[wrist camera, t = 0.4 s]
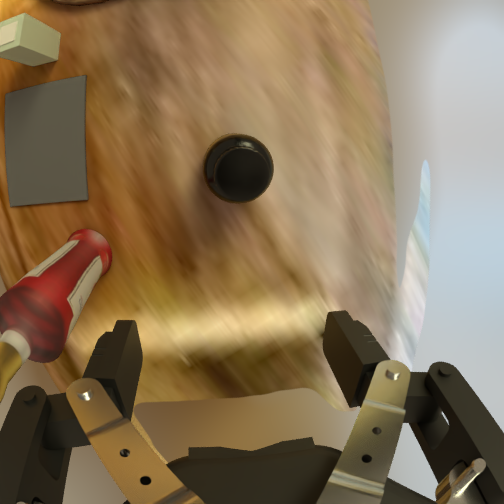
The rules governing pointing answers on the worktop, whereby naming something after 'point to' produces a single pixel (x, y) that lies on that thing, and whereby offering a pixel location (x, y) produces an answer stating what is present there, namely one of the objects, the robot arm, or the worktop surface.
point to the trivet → (79, 2)
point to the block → (28, 41)
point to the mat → (46, 143)
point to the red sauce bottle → (49, 302)
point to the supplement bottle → (238, 168)
